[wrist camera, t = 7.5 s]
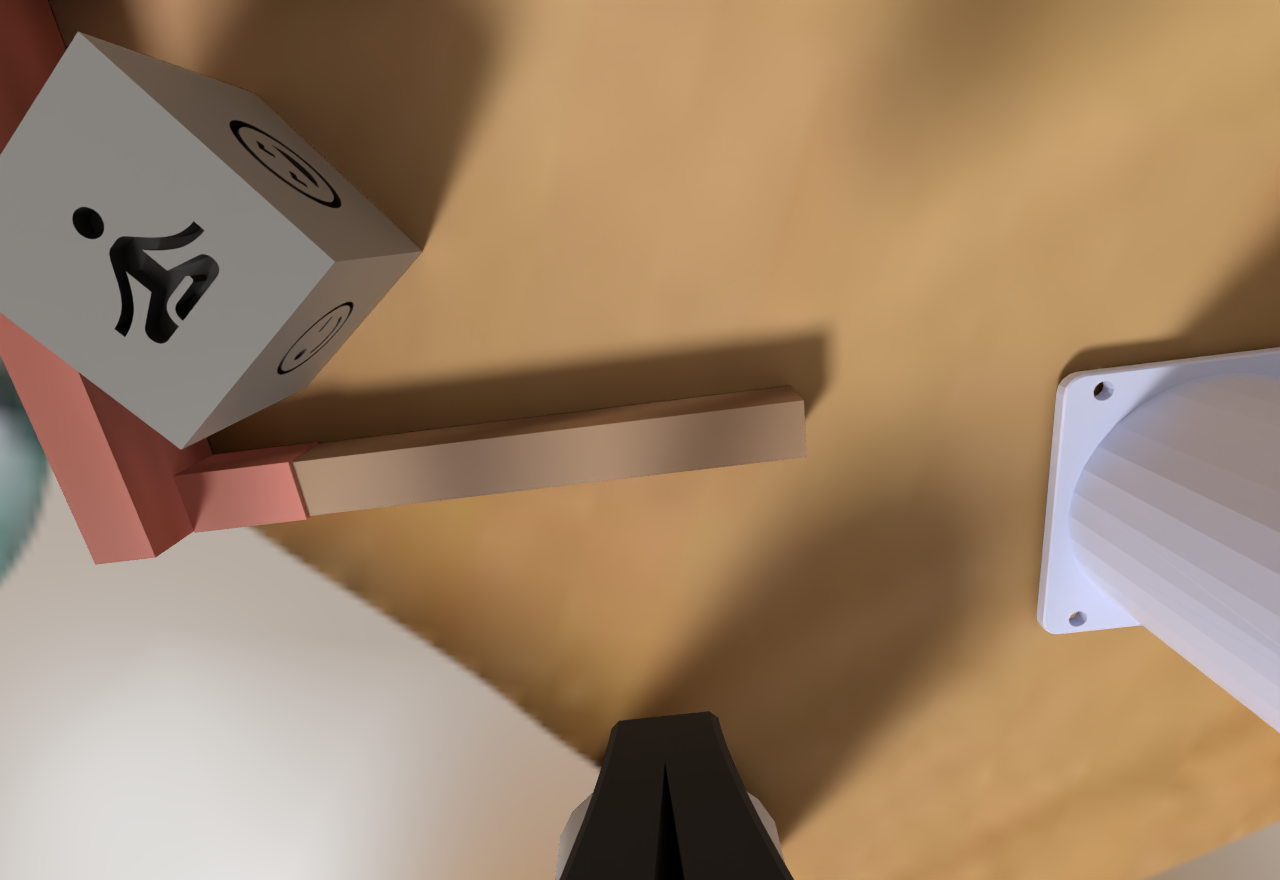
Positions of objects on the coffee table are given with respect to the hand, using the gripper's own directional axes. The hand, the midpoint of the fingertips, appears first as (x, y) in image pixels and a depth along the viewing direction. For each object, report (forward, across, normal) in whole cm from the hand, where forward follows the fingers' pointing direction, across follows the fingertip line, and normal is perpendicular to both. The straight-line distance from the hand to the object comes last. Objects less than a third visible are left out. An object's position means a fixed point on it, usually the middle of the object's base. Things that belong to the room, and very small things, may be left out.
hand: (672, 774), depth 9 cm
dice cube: (+10, +8, -8) cm, 15 cm away
